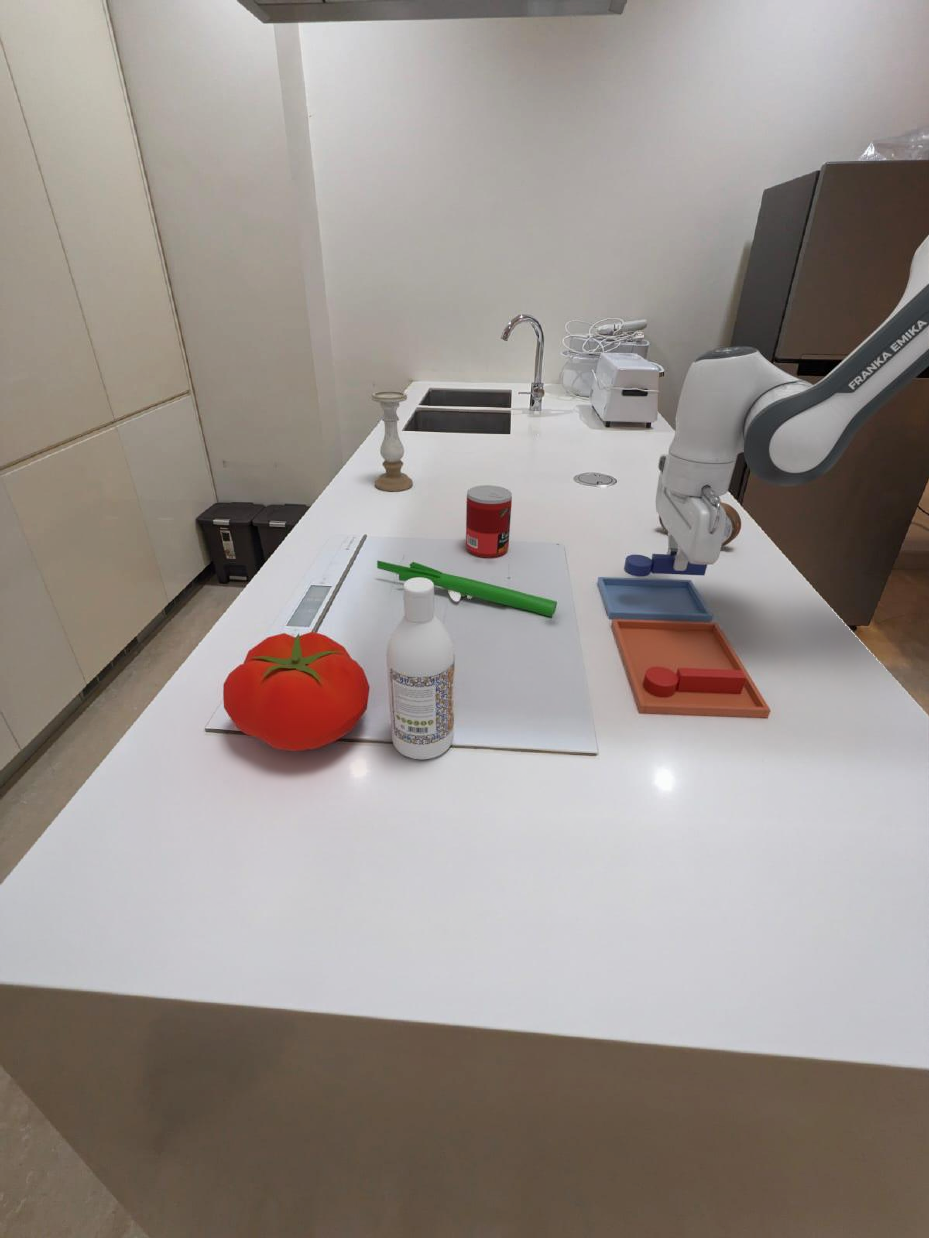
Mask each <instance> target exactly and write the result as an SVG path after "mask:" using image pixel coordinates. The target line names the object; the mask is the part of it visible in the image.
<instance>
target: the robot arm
mask: <svg viewBox="0 0 929 1238" xmlns="http://www.w3.org/2000/svg"><path fill="white" fill-rule="evenodd" d="M908 276H909V277H908V281H907V284H906V288H905V290H904V293H903V295H902V297H901V299H900V300H899V302H898V304H897V305H896V307H895V308H894V310H893V311H892V312H891V313H890V315H889V316H888V317H887V318H886V319H885V320H884V321H883V322H882V323H881V324H880V325H879V326H878V327H877V328H876V329H875V330H874V331H873V332H872V333H871V334H870V335H869V336H868V337H866V338H865V339H864V340H863V341H862V342H861V343H860V344H859V345H858V346H857V347H856V348H854V349H853V350H852V351H851V352H850V353H849V354H848V355H847V356H846V357H845V358H843V360H842V361H841V362H839V364H838V365H836V366H835V367H834V368H833V369H832V370H831V371H830V372H829V373H828V374H826V375H825V376H824V377H823V378H822V379H821V380H820V381H818V382H816V383H814V384H812V383H810V382H809V381H807V380H804V379H801V378H798V377H796V376H794V375H792V374H790V373H788V372H785V370H782V369H780V368H779V367H777V366H776V365H774V364H773V363H772V362H770V361H769V360H768V359H766V357H764V355H762V353H761V352H760V350H759V349H757V348H756V347H755V348H754V347H753V346H752V347H751V346H744V345H743V346H739V345H737V346H725V347H720V348H719V347H718V348H715V349H711V350H708V351H706V352H703V353H702V354H701V355H699V356H697V357H696V359H694V360H693V362H692V363H691V364H690V367H689V368H688V370H687V373H686V375H685V379H684V382H683V386H682V389H681V392H680V396H679V399H678V404H677V409H676V414H675V432H674V436H673V439H672V441H671V443H670V444H669V447H668V452H667V453H665V454H660V456H659V458H658V463H657V469H658V470H659V475H658V479H657V485H656V492H655V493H656V494H655V510H656V513H657V515H658V517H659V516H660V517H661V519H662V521H663V522H664V524H665V525H666V527H667V528H668V530H669V531H668V533H667V551H666V554H671V555H676V556H673V561H672V566H673V568H674V569H675V570H676V571H684V570H686V568H687V564H688V561H689V563H691V564H700V565H707V566H711V565H715V563H717V561H718V560H719V558H720V554H721V551H722V547H723V546H722V542H723V537H724V532H725V526H726V512H725V510H724V508H723V507H722V506H721V505H720V503H721V502H722V500H721V496H725V495H726V494H727V493H728V491H729V488H730V484H731V481H732V477H733V474H734V470H735V467H736V463H737V460H738V455H739V454H741V453H743V457H744V460H745V464H746V465H747V467H748V469H749V471H750V472H751V473H752V474H753V475H754V476H755V477H756V478H758V479H759V480H761V481H762V482H764V483H766V484H769V485H773V486H778V487H797V486H801V485H805V484H808V483H811V482H813V481H815V480H817V479H820V478H821V477H822V476H824V475H825V474H827V472H829V471H830V470H832V469H833V467H834V466H835V465H836V464H837V463H838V461H839V460H840V459H841V457H842V456H843V454H844V453H845V451H846V449H847V448H848V446H849V444H850V443H851V441H852V440H853V438H854V437H855V435H856V434H857V432H858V431H859V430H860V429H861V427H862V426H863V425H864V424H865V423H866V422H867V421H868V420H869V419H870V418H871V417H872V416H873V415H874V414H875V413H876V412H877V411H879V410H880V409H881V408H882V407H883V406H885V405H886V404H887V403H888V402H889V401H890V400H891V399H893V398H894V397H895V396H896V395H897V394H898V393H900V391H902V390H903V389H904V388H905V387H906V386H908V385H909V384H910V383H911V382H912V381H913V380H914V379H915V378H917V377H918V376H919V375H920V374H922V373H923V372H924V371H925V370H926V369H927V368H928V367H929V234H928V235H927V236H926V238H925V239H924V240H923V241H922V243H921V244H920V245H919V246H918V247H917V249H916V250H915V252H914V255H913V257H912V260H911V264H910V267H909V275H908ZM721 546H722V547H721Z"/></svg>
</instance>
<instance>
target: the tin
mask: <svg viewBox="0 0 929 1238" xmlns="http://www.w3.org/2000/svg"><path fill="white" fill-rule="evenodd" d="M720 505H721V506H722V507H723V508H724V510H725V512H726V526H725V532H724V537H723V542H722V546H721V548H722V547H725V546H727V545H729V544H731V542H732V541H733V540H735V539H736V538H737V537H738V535H739V534H740V532H741V530H742V519H741V516H740V514H739V512H738V511H737V510H736V509H735V507H733V505H730V504H728V503H726V502H722V501H721V503H720ZM658 521H659V525H660V526H661V528H662V529H663V530H664V531H665V532H666V533H667V534H668V531H669V530H668V528H667V527H666V525H665V524H664V522H663V521H662V519H661V517H660V516H659V515H658Z"/></svg>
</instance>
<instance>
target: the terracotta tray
mask: <svg viewBox="0 0 929 1238" xmlns="http://www.w3.org/2000/svg"><path fill="white" fill-rule="evenodd" d="M718 623H719V622H716V621H715V622H712V621H711V622H688V621H659V620H630V619H611V625H610V627H611V630H612V633H613V636H614V641H615V642H616V646H617V649H618V653H619V655H620V659H621V661H622V664H623V667H624V669H625V670H624V671H625V674H626V677H627V680H628V683H629V687H630V689H631V692H632V695H633V699H634V702H635V705H636V708H637V711H638V713H639V714H644V715H671V716H672V715H673V716H696V717H718V718H719V717H722V718H747V719H750V718H751V719H768V718H769V716H770V714H771V709H770V707H769V705H768V704H767V702H766V700H765V698H764V697H763V696H762V693H761V692H760V690H759V689H758V686H757V685H756V684H755V682H754V681H753V679H752V677H751V676H750V674H749V672H748V671H747V669H746V667H745V665H743V663H742V661H741V660H740V658H739V656H738V655H737V652H735V650H734V648H733V646H732V644H731V643H730V641H729V639H728V638H727V636H726V635H725V633H724V632H723V630H722V628H721V627H720V625H719V624H718ZM656 666H658V667H665V668H668V669H670V670H672V671H673V672H675V673H677V669H678V668H697V669H724V670H742V671H743V673H744V674H745V676H746V681H745V684H744V686H743V689H742V692H741V694H730V693H703V692H677V691H675V693H674V694H673V695H672V696H669V697H658V696H655V695H652V694H650V693H649V692H647V691H646V690H645V688H644V687H643V681H644V677H645V673H646V670H647V669H649V668H651V667H656Z"/></svg>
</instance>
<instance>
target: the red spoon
mask: <svg viewBox="0 0 929 1238" xmlns="http://www.w3.org/2000/svg"><path fill="white" fill-rule="evenodd" d="M745 681H746V676H745V674H744V673H743V671H742V670H724V669H697V668H678V669H677V673H675V672H673V671H672V670H670V669H668V668H665V667H658V666H656V667H651V668H649V669H647V670H646V673H645V677H644V681H643V687H644V688H645V690H646V691H647V692H649V693H650V694H652V695H655V696H658V697H669V696H672V695H673V694H674V693H675V691H677V692H703V693H730V694H741V692H742V689H743V686H744V684H745Z"/></svg>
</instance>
